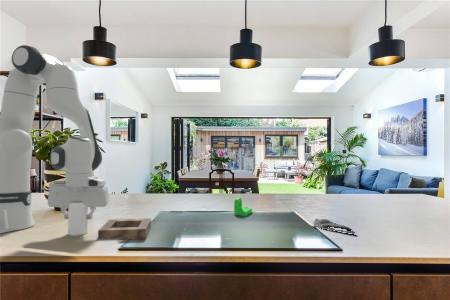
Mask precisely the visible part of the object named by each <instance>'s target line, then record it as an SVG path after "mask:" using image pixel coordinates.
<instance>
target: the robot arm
mask: <svg viewBox="0 0 450 300" xmlns="http://www.w3.org/2000/svg"><path fill="white" fill-rule="evenodd" d="M11 54H12V55H11V63H12V66H13V67H14V68H13V69H10V71H9V74H8V76H7V78H6V80H5V84H4V90H3V95H2V101H1V108H0V234H4V233H10V232H13V231H19V230H23V229H24V230H25V229H29V228H31V227H34V226H35V224H36V223H35V221H34V217H33V212H32V201H33V199H32V190H31V167H32V155H33V138H32V137H31V133H32V127H33V122H34V119H35V115H36V114H35V113H36V105H37V101H38V90H39V87H40V86H41V85H44V86H45V92H46V93H45V94H46V95H45V97H46V103H47V105H48V108H50V109H51V110H52V112H54V113H55V114H56V115H58V116H61V117H63V118H65V119H67V120H69V121H71V122H72V123H74V124H75V125H76V127H77V128H78V130H79V135H74V136H69V137H68V138H67V141H65V142H64V143H62V144H61V145H57V146H55V147H54V148H53V149H52V150H51V152H50V154H49V162H50V165H51V167H52V168H54V170H56V171H60V172H61V171H62V172H64V171H66V172H65V180H53V181H51V182H50V183H49V185H48V191H49V192H48V196H47V197H48V198H47V205H48V207H49V208H60V211H61V213H62V215H63V219H64V220H68V211H67V210H68V207H69V205H70V202H83V204H84V205H85V207H88V208H89V210H90V212H89V213H88V214H87V219H88V220H92V219H93V217H94V216H93V214H94V213H95V211H96V210H97V208H102V207H103V208H105V207H106V206H108V205H109V190H108V188H107V187H106V186H105V185H106V184H107V181H106V179H104V178H101V177H99V176H95V175H94V173H93V172H94V171H95V170H97V169H98V168H99V167H100V165H101V164H102V162H103V154H102V152H101V149H100V147H99V145H98V142H97V141H98V140H97V138H96V133H95V128H94V125H93V122H92V118H91V115H90V113H89V110H88V109H87V108H86V107H85V106H84V105H83V103H82V102H81V101H82V100H81V98H80V96H79V87H78V81H77V77H76V74H75V72H74V70H73V69H72V67H70V66H69V65H67V64H66V63H64V62H63V61H61V60H60V59H57V58H56V57H55V56H53V55H52V54H49V53H48V52H45V51H42V50H39V49H37V48H36V47H34V46H31V45H25V44H24V45H19V46H17V47H16V48H15V49H14V51H13V52H12V53H11Z"/></svg>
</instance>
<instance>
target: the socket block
mask: <svg viewBox="0 0 450 300" xmlns="http://www.w3.org/2000/svg"><path fill="white" fill-rule="evenodd" d="M151 221H152V219H151V218H150V217H149V218H123V219H122V218H121V219H118V218H117V219H116V218H115V219H108V220H107V221H106V222H105V224H103V225H102V226H101V227H100V228H99V229H98V230H97V233H98V234H97V238H98V239H118V238H119V241H125V240H126V241H129V239H131V240H147V238H148V235H149V233H150V230H151V227H152V222H151Z"/></svg>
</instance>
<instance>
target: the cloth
mask: <svg viewBox="0 0 450 300" xmlns="http://www.w3.org/2000/svg"><path fill="white" fill-rule="evenodd" d="M331 221H332V220H330V219H328V218H321V219H319V218H315V219H314V222H313V224H314V226H315V227H318V228H323V229H329V230H335V229H333V228H330V227H334V228H341V229H347V230H349V231H343V230H335V231H341V232H346V233H352V234H353V233H354V232H352V231H353V229H352V228H351V227H348V226H346V225H344V224H340V223H338V224H336V223H333V222H331ZM314 226H313V227H314ZM315 227H314V228H315ZM328 227H329V228H328ZM318 228H317V229H318ZM350 230H352V231H350Z"/></svg>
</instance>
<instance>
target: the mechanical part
mask: <svg viewBox="0 0 450 300" xmlns="http://www.w3.org/2000/svg"><path fill="white" fill-rule="evenodd" d="M233 209H234V210H233V213H234V214H233V215H234V216H238V215H241V216H240V217H247V216H249V215H250V214H252V213H253V208H252V207H250V206H243V201H242V198H241V197H235V199H234V204H233ZM248 214H249V215H248Z"/></svg>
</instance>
